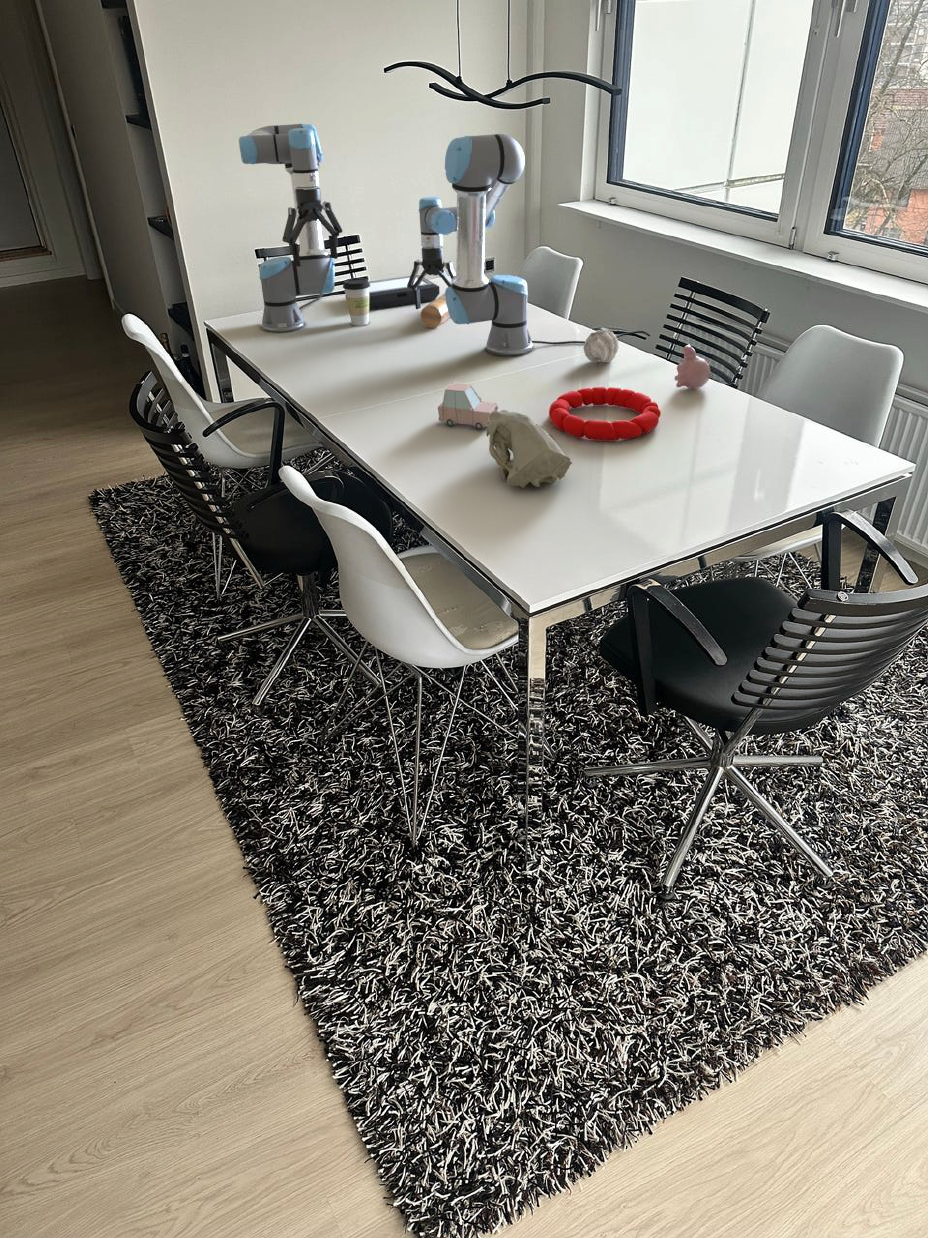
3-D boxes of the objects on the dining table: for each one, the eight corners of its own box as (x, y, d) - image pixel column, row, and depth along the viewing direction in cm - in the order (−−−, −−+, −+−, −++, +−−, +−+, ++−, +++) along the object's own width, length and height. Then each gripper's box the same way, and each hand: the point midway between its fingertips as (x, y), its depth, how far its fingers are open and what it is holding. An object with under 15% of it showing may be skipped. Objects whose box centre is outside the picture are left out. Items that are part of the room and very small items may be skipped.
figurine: (665, 387, 264) (669, 347, 257) (693, 380, 268) (698, 340, 261) (686, 396, 257) (690, 355, 250) (714, 388, 262) (720, 348, 255)
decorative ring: (589, 435, 224) (684, 402, 234) (527, 398, 247) (617, 369, 256) (589, 461, 229) (683, 427, 238) (529, 422, 251) (617, 393, 260)
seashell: (573, 361, 285) (574, 329, 280) (611, 352, 291) (613, 322, 285) (592, 370, 278) (593, 338, 272) (630, 361, 284) (632, 330, 278)
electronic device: (361, 295, 335) (344, 283, 350) (362, 312, 338) (346, 299, 353) (439, 284, 345) (420, 273, 360) (439, 300, 349) (421, 289, 364)
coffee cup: (372, 326, 323) (368, 283, 314) (345, 327, 323) (340, 284, 315) (374, 318, 331) (371, 276, 322) (348, 319, 331) (344, 277, 323)
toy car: (488, 432, 240) (488, 396, 234) (436, 426, 244) (434, 390, 239) (499, 419, 247) (499, 384, 241) (448, 413, 252) (447, 379, 246)
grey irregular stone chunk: (496, 517, 219) (521, 479, 201) (463, 429, 225) (484, 384, 207) (557, 503, 225) (586, 465, 206) (523, 417, 231) (549, 373, 212)
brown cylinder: (450, 306, 343) (449, 284, 338) (469, 307, 340) (469, 286, 336) (421, 326, 321) (420, 304, 317) (441, 328, 319) (440, 306, 314)
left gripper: (277, 194, 258) (287, 270, 270) (349, 183, 270) (355, 256, 282) (264, 191, 262) (275, 266, 274) (335, 180, 275) (342, 253, 287)
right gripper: (395, 247, 309) (399, 309, 321) (461, 250, 301) (463, 314, 313) (404, 242, 315) (408, 304, 327) (469, 245, 307) (471, 308, 319)
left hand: (316, 261), depth 278 cm, fingers open, 13 cm apart
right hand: (435, 309), depth 320 cm, fingers open, 13 cm apart
